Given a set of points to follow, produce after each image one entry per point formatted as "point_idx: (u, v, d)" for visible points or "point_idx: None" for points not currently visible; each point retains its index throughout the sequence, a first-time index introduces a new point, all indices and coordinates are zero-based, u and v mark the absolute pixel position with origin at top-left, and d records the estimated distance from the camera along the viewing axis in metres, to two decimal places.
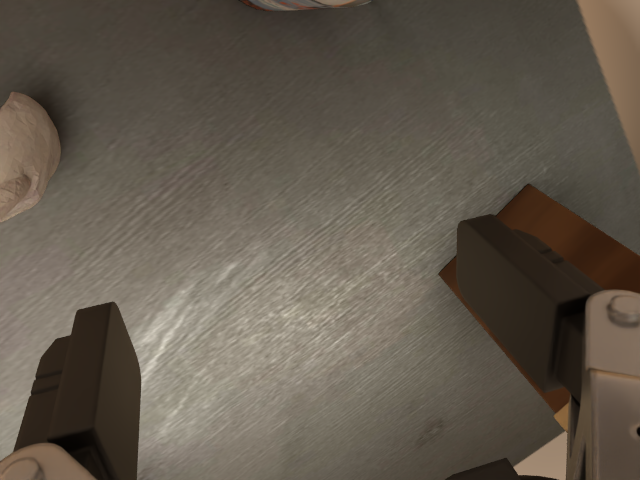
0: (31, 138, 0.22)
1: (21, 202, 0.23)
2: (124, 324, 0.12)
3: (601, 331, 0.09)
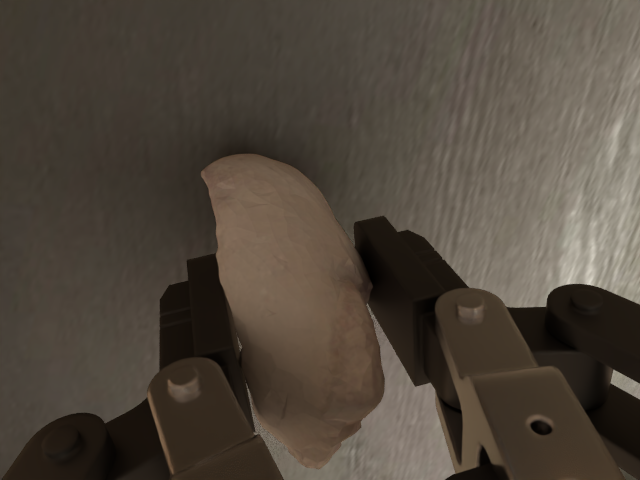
0: (291, 216, 0.11)
1: None
2: None
3: (458, 333, 0.09)
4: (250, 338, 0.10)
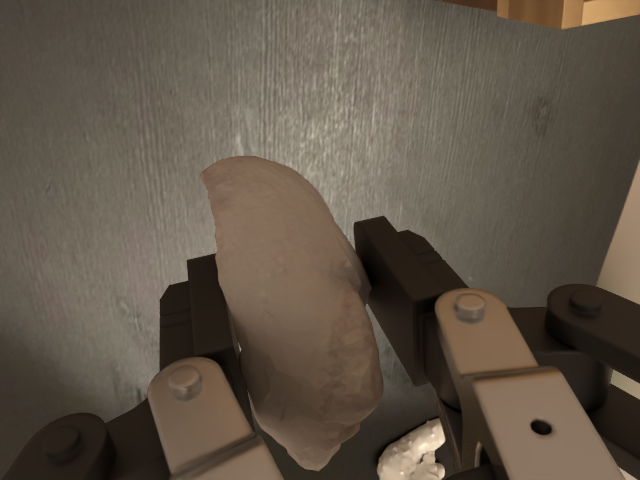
0: (289, 218, 0.11)
1: None
2: None
3: (457, 334, 0.09)
4: (249, 340, 0.10)
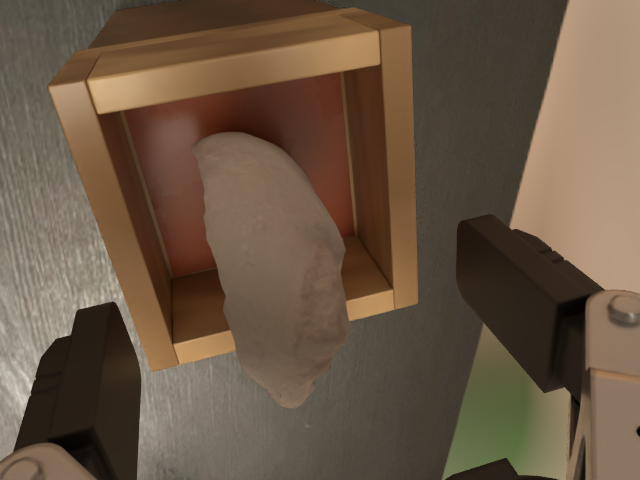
0: (270, 183, 0.12)
1: None
2: (124, 324, 0.12)
3: (601, 331, 0.09)
4: (232, 288, 0.11)
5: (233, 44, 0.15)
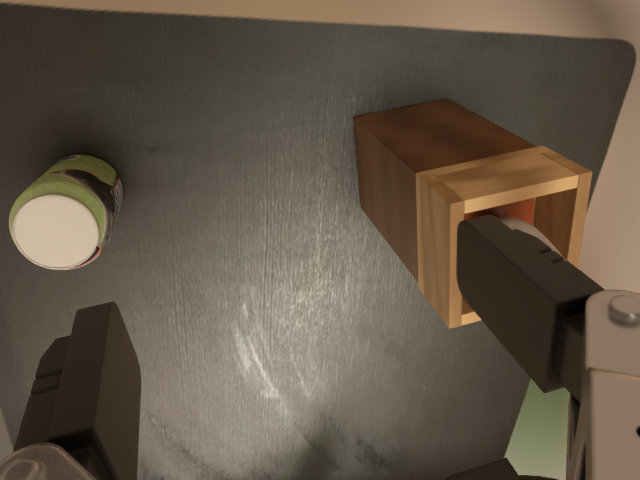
0: None
1: None
2: (124, 324, 0.12)
3: (601, 331, 0.09)
4: None
5: (510, 178, 0.33)
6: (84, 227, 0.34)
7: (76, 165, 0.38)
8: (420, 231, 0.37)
